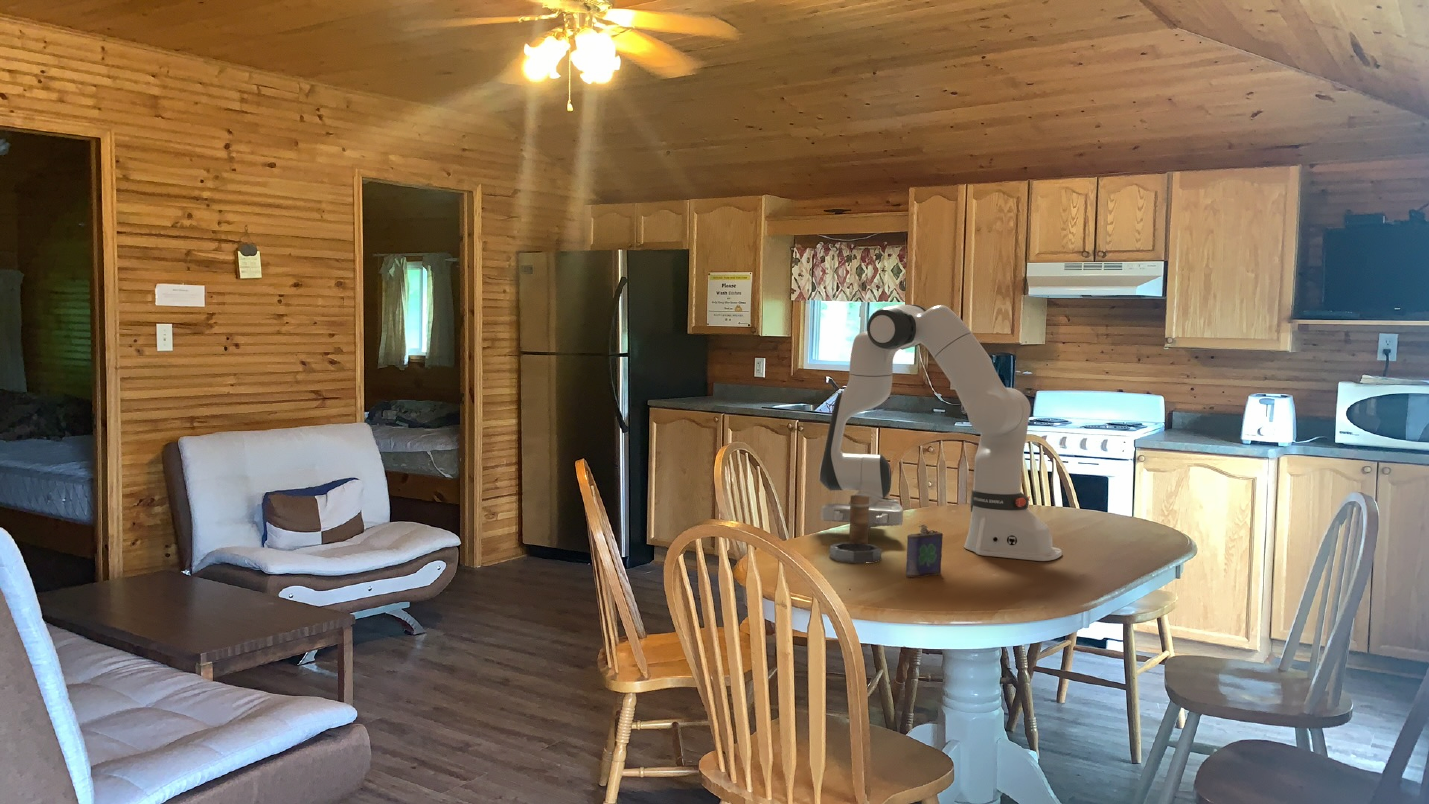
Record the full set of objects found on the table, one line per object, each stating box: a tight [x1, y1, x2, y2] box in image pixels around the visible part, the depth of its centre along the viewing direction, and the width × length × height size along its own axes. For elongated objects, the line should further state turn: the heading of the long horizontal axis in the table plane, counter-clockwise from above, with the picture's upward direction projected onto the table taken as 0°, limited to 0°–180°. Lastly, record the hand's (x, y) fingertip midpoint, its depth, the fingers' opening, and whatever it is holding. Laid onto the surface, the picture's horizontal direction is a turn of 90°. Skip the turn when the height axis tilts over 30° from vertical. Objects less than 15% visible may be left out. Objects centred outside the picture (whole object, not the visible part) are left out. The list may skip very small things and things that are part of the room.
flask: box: [905, 524, 944, 578], centre depth 228 cm, size 9×3×11 cm, turn 121°
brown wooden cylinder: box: [848, 494, 869, 544], centre depth 258 cm, size 5×5×12 cm
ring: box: [829, 542, 882, 564], centre depth 244 cm, size 11×11×2 cm
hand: (859, 519), depth 258 cm, fingers open, 8 cm apart
